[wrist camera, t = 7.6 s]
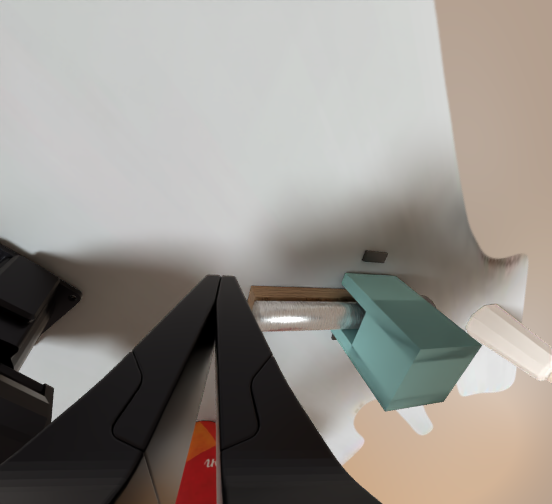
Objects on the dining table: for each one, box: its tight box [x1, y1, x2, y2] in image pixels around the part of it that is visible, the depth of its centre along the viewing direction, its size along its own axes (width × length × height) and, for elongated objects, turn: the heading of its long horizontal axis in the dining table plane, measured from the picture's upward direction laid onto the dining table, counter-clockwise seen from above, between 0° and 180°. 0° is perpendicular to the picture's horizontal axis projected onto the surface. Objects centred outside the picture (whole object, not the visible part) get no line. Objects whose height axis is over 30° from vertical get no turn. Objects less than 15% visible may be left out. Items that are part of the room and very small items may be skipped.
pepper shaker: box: [466, 304, 552, 384], centre depth 33 cm, size 5×5×11 cm
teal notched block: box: [331, 273, 482, 411], centre depth 24 cm, size 6×6×10 cm
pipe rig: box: [247, 251, 436, 340], centre depth 26 cm, size 18×11×5 cm, turn 76°
